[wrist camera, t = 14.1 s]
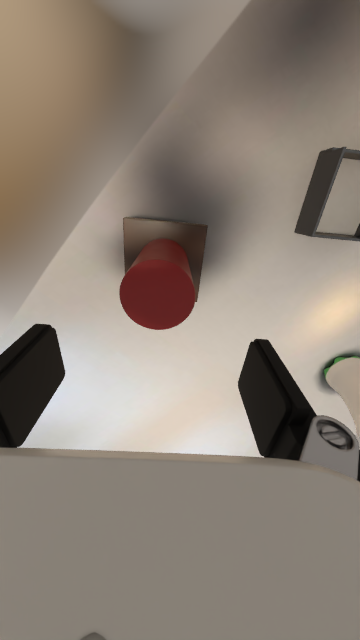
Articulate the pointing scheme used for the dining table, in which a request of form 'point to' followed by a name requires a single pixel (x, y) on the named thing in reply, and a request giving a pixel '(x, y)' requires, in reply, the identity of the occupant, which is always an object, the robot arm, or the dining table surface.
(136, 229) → the stool
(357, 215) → the dining table surface
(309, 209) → the dark square frame
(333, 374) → the cup
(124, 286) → the can
